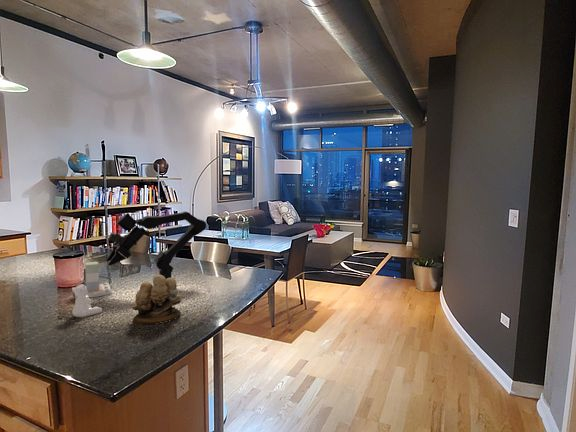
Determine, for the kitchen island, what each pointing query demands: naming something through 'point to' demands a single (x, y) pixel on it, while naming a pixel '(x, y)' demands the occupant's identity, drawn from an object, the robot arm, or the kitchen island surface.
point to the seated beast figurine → (83, 303)
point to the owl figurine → (157, 301)
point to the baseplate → (99, 291)
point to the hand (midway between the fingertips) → (108, 262)
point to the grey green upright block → (92, 276)
